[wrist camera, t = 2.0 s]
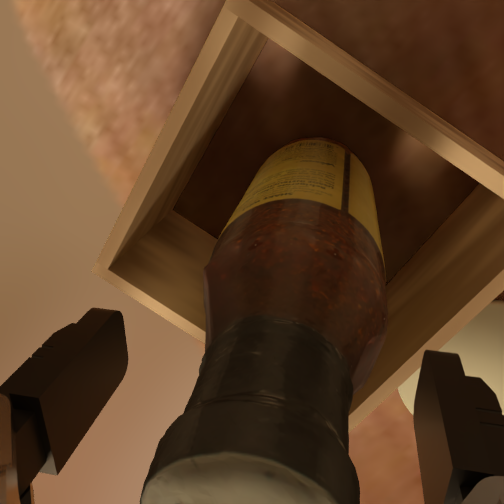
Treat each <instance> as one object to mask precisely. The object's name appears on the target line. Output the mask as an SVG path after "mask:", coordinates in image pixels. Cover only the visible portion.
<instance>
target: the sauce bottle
mask: <svg viewBox="0 0 504 504" xmlns="http://www.w3.org/2000/svg"><path fill="white" fill-rule="evenodd" d="M203 281H204V308H205V314H206V333H205V354H204V356H203V358H202V363H201V365H200V368H199V377H198V379H197V382H196V385H195V387H194V390H193V392H192V395H191V397H190V399H189V401H188V404H187V405H186V408H185V411H184V413H183V414H182V415H181V416H179V417H178V418H177V419H176V420H175V421H174V422H173V423H172V424H171V426H170V427H169V428H168V429H167V431H166V433H165V435H164V436H163V437H162V438H161V439H160V441H159V444H158V447H157V449H156V453H155V457H154V459H153V461H152V463H151V465H150V469H149V472H148V475H147V477H146V480H145V482H144V486H143V490H142V494H141V498H140V504H360V487H359V480H358V477H357V473H356V469H355V467H354V465H353V463H352V461H351V459H350V457H349V455H348V453H349V435H348V431H349V411H350V407H351V403H352V400H353V395H354V394H355V393H356V392H358V391H359V390H360V389H361V388H363V387H364V385H365V383H366V381H367V380H368V378H369V377H370V374H371V371H372V369H373V367H374V364H375V362H376V360H377V357H378V355H379V353H380V350H381V348H382V346H383V344H384V341H385V339H386V334H387V326H388V308H387V304H388V302H387V296H386V290H385V282H386V271H385V264H384V257H383V252H382V245H381V239H380V232H379V226H378V219H377V211H376V205H375V199H374V192H373V187H372V183H371V180H370V177H369V175H368V173H367V170H366V169H365V167H364V166H363V164H362V163H361V162H360V160H359V159H358V158H357V157H356V155H355V154H353V153H352V152H351V151H350V149H349V148H348V147H347V146H345V145H344V144H342V143H340V142H337V141H335V140H332V139H328V138H323V137H318V138H299V139H296V140H292V141H290V142H289V143H288V144H286V145H285V146H283V147H282V148H280V149H279V150H278V151H276V152H275V153H273V154H272V155H271V156H270V157H269V158H268V159H267V160H266V161H265V162H264V164H263V165H262V166H261V167H260V169H259V170H258V172H257V174H256V175H255V177H254V179H253V181H252V182H251V184H250V186H249V187H248V189H247V191H246V193H245V194H244V196H243V198H242V200H241V201H240V203H239V204H238V206H237V208H236V209H235V211H234V213H233V214H232V216H231V218H230V219H229V221H228V223H227V224H226V226H225V228H224V229H223V231H222V233H221V235H220V236H219V238H218V240H217V242H216V244H215V246H214V249H213V251H212V254H211V256H210V259H209V262H208V264H207V265H206V266H205V267H204V270H203Z"/></svg>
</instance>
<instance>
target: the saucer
mask: <svg viewBox="0 0 504 504" xmlns="http://www.w3.org/2000/svg"><path fill="white" fill-rule="evenodd" d="M438 351H442V352H450V353H457V354H459V356H460V359H461V363H462V366H463V369H464V372H465V376H472V377H480V378H482V380H483V381H484V382H485V383H486V384H487V385H488V386H489V387H490V388H491V389H492V390H493V391H494V393H495V394H496V396H497V399H498V401H499V404H500V407H501V409H502V415H504V301H503V300H493V301H492V302H491V303H489V304H488V305H487V306H486V307H485V308H484V309H483V310H482V311H481V312H480V313H479V314H477V315H476V316H475V317H474V318H473V319H472V320H471V321H470V322H469V323H468V324H467V325H466V326H464V327H463V328H462V329H461V330H460V331H459V332H458V333H457V334H456V335H455V336H454V337H452V338H451V339H450V340H449V341H448V342H447V343H446V344H445V345H444V346H443V347H442V348H441V349H439V350H438ZM420 369H421V367H420V368H419V369H418V370H417V371H416V372H414V373H413V374H412V375H411V376H410V377H409V378H408V379H407V380H406V381H405V382H404V383H403V384H401V385H400V386H399V387H398V391H399V394H400V396H401V398H402V401H403V402H404V404H405V406H406V407H407V409H408V410H409V411H410V412H411V413H412V415H413V413H414V400H415V394H416V389H417V384H418V379H419V374H420Z"/></svg>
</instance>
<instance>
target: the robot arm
mask: <svg viewBox="0 0 504 504" xmlns="http://www.w3.org/2000/svg"><path fill="white" fill-rule="evenodd" d="M127 365H128V352H127V344H126V336H125V328H124V321H123V316H122V313H121V312H120V311H116V310H107V309H100V308H91V309H90V310H89V311H88V312H87V313H86V314H85V315H84V316H83V317H82V318H81V319H80V320H79V321H78V322H77V323H76V324H75V323H71V324H69V325H68V326H66V327H64V328H62V329H60V330H58V331H57V332H55V333H54V334H53V335H52V336H51V337H50V338H49V339H48V340H47V341H45V342H44V344H42V347H41V348H38V349H37V350H36V352H34V353H33V354H32V357H31V358H30V357H29V358H28V359H27V360H26V361H25V362H24V363H23V364H22V365H21V367H19V368H18V369H17V370H16V371H15V372H14V373H13V374H12V375H11V376H10V377H9V378H8V379H7V380H6V381H5V382H4V383H3V384H2V385H1V386H0V504H35V503H34V490H33V485H32V481H33V479H34V478H35V477H36V475H37V474H38V472H42V473H47V474H52V475H58V474H59V472H60V471H61V469H62V468H63V467H64V465H65V464H66V462H67V461H68V459H69V458H70V456H71V454H72V453H73V452H74V450H75V449H76V447H77V446H78V444H79V443H80V441H81V440H82V439H83V437H84V436H85V434H86V433H87V431H88V430H89V428H90V427H91V425H92V424H93V422H94V421H95V419H96V418H97V416H98V415H99V413H100V412H101V410H102V409H103V408H104V406H105V405H106V403H107V402H108V400H109V399H110V397H111V396H112V394H113V393H114V391H115V390H116V388H117V387H118V386H119V384H120V383H121V381H122V380H123V378H124V375H125V373H126V370H127ZM413 417H414V429H415V436H416V443H417V451H418V458H419V465H420V472H421V480H422V487H423V494H424V501H425V504H504V415H502V409H501V407H500V404H499V401H498V399H497V396H496V394H495V393H494V391H493V390H492V389H491V388H490V387H489V386H488V385H487V384H486V383H485V382H484V381H483V380H482V378H480V377H472V376H465V372H464V369H463V366H462V363H461V359H460V356H459V354H457V353H450V352H442V351H433V350H425V352H424V355H423V359H422V364H421V369H420V374H419V379H418V384H417V389H416V394H415V400H414V413H413Z"/></svg>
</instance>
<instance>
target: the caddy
mask: <svg viewBox="0 0 504 504" xmlns="http://www.w3.org/2000/svg"><path fill="white" fill-rule="evenodd" d="M268 38H270V39H271V40H273V41H274V42H276V43H277V44H279V45H280V46H281V47H283V48H284V49H286V50H287V51H289V52H290V53H292V54H293V55H295V56H296V57H297V58H299V59H300V60H302V61H303V62H305V63H306V64H308V65H309V66H311V67H312V68H314V69H315V70H316V71H318V72H319V73H321V74H322V75H324V76H325V77H327V78H328V79H330V80H331V81H332V82H334V83H335V84H337V85H338V86H340V87H341V88H343V89H344V90H346V91H347V92H348V93H350V94H351V95H353V96H354V97H356V98H357V99H359V100H360V101H362V102H363V103H364V104H366V105H367V106H369V107H370V108H372V109H373V110H375V111H376V112H378V113H379V114H380V115H382V116H383V117H385V118H386V119H388V120H389V121H391V122H392V123H394V124H395V125H396V126H398V127H399V128H401V129H402V130H404V131H405V132H407V133H408V134H410V135H411V136H413V137H414V138H415V139H417V140H418V141H420V142H421V143H423V144H424V145H426V146H427V147H429V148H430V149H431V150H433V151H434V152H436V153H437V154H439V155H440V156H442V157H443V158H445V159H446V160H447V161H449V162H450V163H452V164H453V165H455V166H456V167H458V168H459V169H461V170H462V171H463V172H465V173H466V174H468V175H469V176H471V177H472V178H474V179H475V180H477V181H478V182H479V185H478V186H477V187H476V188H475V189H474V190H473V191H472V192H471V193H470V194H469V195H468V197H467V198H466V199H465V200H464V201H463V202H462V203H461V204H460V205H459V206H458V207H457V209H456V210H455V211H454V212H453V213H452V214H451V215H450V216H449V217H448V218H447V219H446V221H445V222H444V223H443V224H442V225H441V226H440V227H439V228H438V229H437V230H436V231H435V233H434V234H433V235H432V236H431V237H430V238H429V239H428V240H427V241H426V242H425V243H424V245H423V246H422V247H421V248H420V249H419V250H418V251H417V252H416V253H415V254H414V256H413V257H412V258H411V259H410V260H409V261H408V262H407V263H406V264H405V265H404V266H403V268H402V269H401V270H400V271H399V272H398V273H397V274H396V275H395V276H394V277H393V278H392V280H391V281H390V282H389V283H388V284H387V285H386V286H385V290H386V296H387V302H388V304H387V308H388V326H387V334H386V339H385V341H384V344H383V346H382V348H381V350H380V353H379V355H378V357H377V360H376V362H375V364H374V367H373V369H372V371H371V374H370V377H369V378H368V380H367V381H366V383H365V385H364V387H363V388H361V389H360V390H359V391H358V392H356V393H355V394H354V395H353V400H352V403H351V407H350V411H349V431H348V433H349V432H350V431H351V430H353V429H354V428H355V427H356V426H357V425H358V424H359V423H360V422H361V421H362V420H363V419H365V418H366V417H367V416H368V415H369V414H370V413H371V412H372V411H373V410H374V409H375V408H376V407H378V406H379V405H380V404H381V403H382V402H383V401H384V400H385V399H386V398H387V397H388V396H389V395H391V394H392V393H393V392H394V391H395V390H396V389H397V388H398V387H399V386H400V385H401V384H403V383H404V382H405V381H406V380H407V379H408V378H409V377H410V376H411V375H412V374H413V373H414V372H416V371H417V370H418V369H419V368H420V367H421V364H422V359H423V355H424V352H425V350H433V351H438V350H439V349H441V348H442V347H443V346H444V345H445V344H446V343H447V342H448V341H449V340H450V339H451V338H452V337H454V336H455V335H456V334H457V333H458V332H459V331H460V330H461V329H462V328H463V327H464V326H466V325H467V324H468V323H469V322H470V321H471V320H472V319H473V318H474V317H475V316H476V315H477V314H479V313H480V312H481V311H482V310H483V309H484V308H485V307H486V306H487V305H488V304H489V303H491V302H492V301H493V300H494V299H495V298H496V297H497V296H498V295H499V294H500V293H501V292H502V291H504V161H503V160H501V159H500V158H498V157H497V156H495V155H494V154H492V153H491V152H490V151H488V150H487V149H485V148H484V147H482V146H481V145H479V144H478V143H477V142H475V141H474V140H472V139H471V138H469V137H468V136H466V135H465V134H464V133H462V132H461V131H459V130H458V129H456V128H455V127H453V126H452V125H451V124H449V123H448V122H446V121H445V120H443V119H442V118H440V117H439V116H438V115H436V114H435V113H433V112H432V111H430V110H429V109H427V108H426V107H425V106H423V105H422V104H420V103H419V102H417V101H416V100H414V99H413V98H412V97H410V96H409V95H407V94H406V93H404V92H403V91H401V90H400V89H399V88H397V87H396V86H394V85H393V84H391V83H390V82H388V81H387V80H386V79H384V78H383V77H381V76H380V75H378V74H377V73H375V72H374V71H373V70H371V69H370V68H368V67H367V66H365V65H364V64H362V63H361V62H360V61H358V60H357V59H355V58H354V57H352V56H351V55H349V54H348V53H347V52H345V51H344V50H342V49H341V48H339V47H338V46H336V45H335V44H334V43H332V42H331V41H329V40H328V39H326V38H325V37H323V36H322V35H321V34H319V33H318V32H316V31H315V30H313V29H312V28H310V27H309V26H308V25H306V24H305V23H303V22H302V21H300V20H299V19H297V18H296V17H295V16H293V15H292V14H290V13H289V12H287V11H286V10H284V9H283V8H282V7H280V6H279V5H277V4H276V3H274V2H272V1H269V0H226V2H225V4H224V6H223V8H222V10H221V12H220V14H219V16H218V18H217V20H216V22H215V24H214V26H213V28H212V30H211V32H210V34H209V36H208V38H207V40H206V42H205V44H204V46H203V48H202V50H201V52H200V54H199V56H198V58H197V60H196V62H195V64H194V66H193V68H192V70H191V72H190V74H189V76H188V78H187V80H186V82H185V84H184V86H183V88H182V90H181V92H180V94H179V96H178V98H177V100H176V102H175V104H174V106H173V108H172V110H171V112H170V114H169V116H168V118H167V120H166V122H165V124H164V126H163V128H162V130H161V132H160V134H159V136H158V138H157V140H156V142H155V145H154V147H153V149H152V151H151V153H150V155H149V157H148V159H147V161H146V163H145V165H144V167H143V169H142V171H141V173H140V175H139V177H138V179H137V181H136V183H135V185H134V187H133V189H132V191H131V193H130V195H129V197H128V199H127V201H126V203H125V205H124V207H123V209H122V211H121V213H120V215H119V217H118V219H117V221H116V223H115V225H114V227H113V229H112V231H111V233H110V235H109V237H108V240H107V241H106V243H105V245H104V247H103V249H102V251H101V254H100V255H99V257H98V259H97V262H96V263H95V265H94V267H93V270H92V272H93V273H95V274H96V275H98V276H99V277H101V278H102V279H104V280H105V281H107V282H109V283H110V284H112V285H113V286H115V287H116V288H118V289H120V290H121V291H123V292H124V293H126V294H127V295H129V296H130V297H132V298H134V299H135V300H137V301H138V302H140V303H141V304H143V305H145V306H146V307H148V308H149V309H151V310H152V311H154V312H156V313H157V314H159V315H160V316H162V317H163V318H165V319H167V320H168V321H170V322H171V323H173V324H174V325H176V326H177V327H179V328H180V329H182V330H184V331H185V332H187V333H188V334H190V335H191V336H193V337H195V338H196V339H198V340H199V341H201V342H202V343H204V344H205V333H206V314H205V308H204V281H203V270H204V267H205V266H206V265H207V264H208V262H209V259H210V256H211V254H212V251H213V249H214V246H215V244H216V242H217V240H218V239H216V238H214V237H213V236H211V235H210V234H208V233H207V232H205V231H204V230H202V229H201V228H199V227H198V226H196V225H195V224H193V223H192V222H190V221H189V220H187V219H185V218H184V217H182V216H181V215H179V214H178V213H176V212H175V211H173V208H174V206H175V204H176V202H177V201H178V199H179V197H180V195H181V194H182V192H183V190H184V188H185V186H186V185H187V183H188V181H189V179H190V177H191V176H192V174H193V172H194V170H195V169H196V167H197V165H198V163H199V161H200V160H201V158H202V156H203V154H204V152H205V151H206V149H207V147H208V145H209V144H210V142H211V140H212V138H213V136H214V135H215V133H216V131H217V129H218V127H219V126H220V124H221V122H222V120H223V119H224V117H225V115H226V113H227V111H228V110H229V108H230V106H231V104H232V102H233V101H234V99H235V97H236V95H237V93H238V92H239V90H240V88H241V86H242V85H243V83H244V81H245V79H246V77H247V76H248V74H249V72H250V70H251V68H252V67H253V65H254V63H255V61H256V60H257V58H258V56H259V54H260V52H261V51H262V49H263V47H264V45H265V43H266V42H267V40H268Z"/></svg>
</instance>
